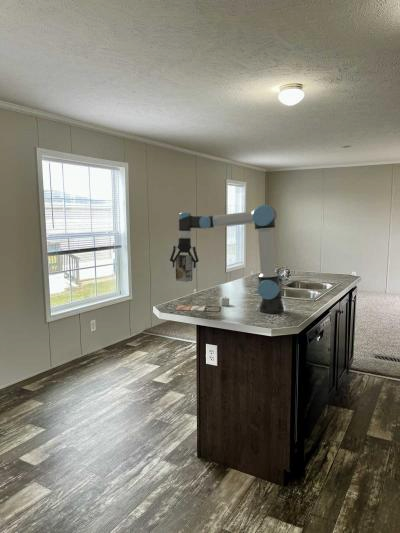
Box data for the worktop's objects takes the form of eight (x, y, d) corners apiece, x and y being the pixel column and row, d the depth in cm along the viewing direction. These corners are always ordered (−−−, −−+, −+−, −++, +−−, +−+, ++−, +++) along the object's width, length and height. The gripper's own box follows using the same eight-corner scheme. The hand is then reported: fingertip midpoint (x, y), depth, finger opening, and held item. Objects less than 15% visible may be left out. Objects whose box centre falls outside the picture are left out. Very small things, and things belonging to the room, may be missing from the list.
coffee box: (192, 281, 242) (193, 255, 240) (185, 282, 238) (185, 256, 236) (182, 279, 248) (183, 254, 247) (175, 280, 244) (175, 254, 242)
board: (220, 307, 249) (220, 306, 249) (219, 312, 235) (219, 311, 235) (177, 305, 252) (177, 304, 252) (173, 310, 239) (173, 309, 238)
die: (226, 304, 259) (227, 296, 258) (229, 305, 254) (229, 297, 253) (219, 304, 258) (219, 296, 257) (221, 306, 253) (222, 298, 252)
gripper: (203, 237, 242) (203, 272, 245) (167, 237, 245) (167, 271, 247) (202, 238, 235) (201, 274, 237) (165, 237, 237) (164, 273, 240)
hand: (184, 272), depth 242 cm, fingers closed on coffee box, 11 cm apart
